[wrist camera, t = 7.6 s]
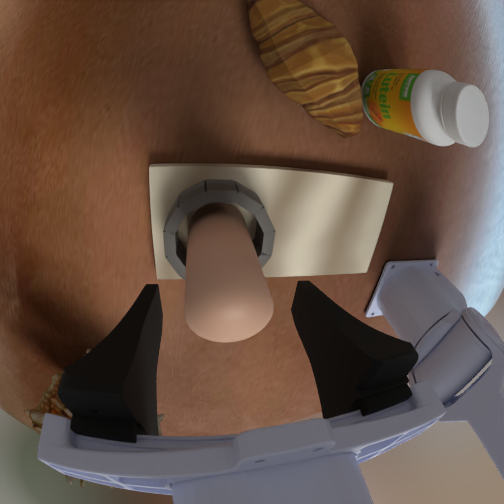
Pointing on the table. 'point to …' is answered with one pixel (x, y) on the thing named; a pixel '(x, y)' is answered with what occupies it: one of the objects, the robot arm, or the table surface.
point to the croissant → (309, 62)
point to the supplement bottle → (426, 106)
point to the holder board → (272, 215)
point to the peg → (224, 277)
